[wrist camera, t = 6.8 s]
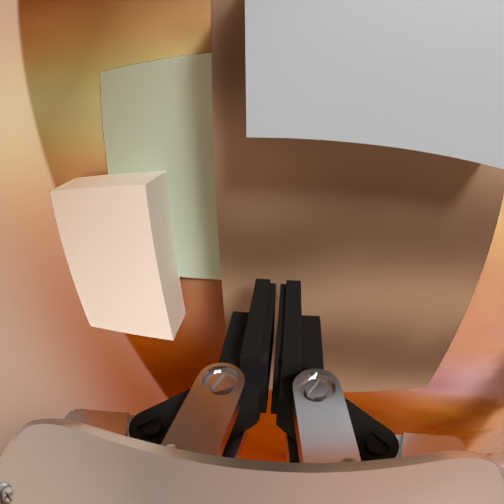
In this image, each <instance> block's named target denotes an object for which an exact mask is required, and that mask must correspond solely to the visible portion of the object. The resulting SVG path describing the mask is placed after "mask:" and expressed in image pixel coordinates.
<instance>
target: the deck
mask: <svg viewBox="0 0 504 504" xmlns="http://www.w3.org/2000/svg"><path fill="white" fill-rule="evenodd" d="M211 53H212V106H213V137H214V162H215V184H216V203H217V221H218V237H219V252H220V267H221V280H222V294H223V306H224V318H225V330H226V334H227V331H228V327H229V323H230V320H231V316H232V313H233V311H237V312H249V310H250V305H251V300H252V296H253V291H254V286H255V281H256V279H270V280H271V283H276V298H275V322H274V341H273V352H272V362H271V372H270V381H269V390H272V388H273V372H274V357H275V346H276V334H277V323H278V310H279V298H280V284H286V280H297V281H301V307H302V315H309V316H320V323H321V335H322V349H323V363H324V370H327V371H329V372H331V373H332V374H334V375H335V376H336V377H337V378H338V380H339V382H340V384H341V388H342V391H343V392H366V391H386V390H401V389H412V388H422V387H427V385H428V384H429V382H430V380H431V379H432V377H433V375H434V374H435V372H436V370H437V368H438V367H439V365H440V363H441V361H442V359H443V357H444V356H445V354H446V352H447V350H448V348H449V346H450V344H451V342H452V340H453V338H454V336H455V334H456V332H457V330H458V328H459V326H460V324H461V321H462V319H463V317H464V315H465V313H466V310H467V308H468V306H469V303H470V301H471V298H472V296H473V293H474V291H475V288H476V286H477V283H478V281H479V278H480V275H481V272H482V270H483V267H484V264H485V261H486V258H487V255H488V252H489V248H490V245H491V242H492V238H493V235H494V231H495V228H496V224H497V220H498V216H499V212H500V208H501V204H502V199H503V194H504V169H500V168H497V167H493V166H489V165H485V164H481V163H476V162H472V161H468V160H463V159H458V158H453V157H449V156H443V155H438V154H433V153H427V152H421V151H415V150H409V149H402V148H395V147H388V146H380V145H371V144H362V143H353V142H342V141H329V140H315V139H295V138H255V137H246V60H245V0H211Z"/></svg>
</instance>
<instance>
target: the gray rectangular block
mask: <svg viewBox="0 0 504 504" xmlns="http://www.w3.org/2000/svg"><path fill="white" fill-rule="evenodd" d="M245 60H246V137H255V138H295V139H315V140H329V141H342V142H353V143H362V144H371V145H380V146H388V147H395V148H402V149H409V150H415V151H421V152H427V153H433V154H438V155H443V156H449V157H453V158H458V159H463V160H468V161H472V162H476V163H481V164H485V165H489V166H493V167H497V168H500V169H504V0H245Z"/></svg>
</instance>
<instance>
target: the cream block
mask: <svg viewBox="0 0 504 504" xmlns="http://www.w3.org/2000/svg"><path fill="white" fill-rule="evenodd" d="M50 196H51V201H52V205H53V210H54V214H55V218H56V222H57V227H58V230H59V234H60V238H61V242H62V245H63V249H64V252H65V256H66V259H67V262H68V265H69V269H70V272H71V275H72V278H73V281H74V284H75V287H76V289H77V292H78V295H79V298H80V301H81V303H82V306H83V309H84V311H85V314H86V316H87V319H88V321H89V324H90V326H93V327H98V328H103V329H108V330H113V331H118V332H123V333H129V334H135V335H140V336H147V337H153V338H159V339H166V340H173V341H174V339H175V336H176V334H177V332H178V330H179V327H180V325H181V323H182V321H183V319H184V316H185V314H186V312H185V307H184V301H183V295H182V289H181V283H180V276H179V270H178V263H177V256H176V249H175V242H174V234H173V226H172V218H171V210H170V201H169V191H168V181H167V171H155V172H137V173H122V174H109V175H97V176H87V177H77V178H74V179H72V180H70V181H68V182H66V183H64V184H62V185H60V186H59V187H57V188H55V189H53V190H51V191H50Z"/></svg>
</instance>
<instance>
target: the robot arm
mask: <svg viewBox="0 0 504 504" xmlns="http://www.w3.org/2000/svg"><path fill="white" fill-rule="evenodd" d="M275 298H276V283H271V280H270V279H256V281H255V286H254V291H253V296H252V300H251V305H250V310H249V312H237V311H233V313H232V316H231V320H230V323H229V327H228V331H227V334H226V338H225V342H224V345H223V349H222V353H221V356H220V360H219V363H214V364H211V365H208V366H206V367H205V368H204V369H202V370H201V372H200V373H199V374H198V376H197V378H196V380H195V382H194V383H193V385H192V387H191V388H190V389H188V390H186V391H184V392H182V393H180V394H178V395H176V396H174V397H172V398H170V399H168V400H166V401H164V402H162V403H160V404H157V405H155V406H153V407H151V408H149V409H147V410H145V411H142V412H141V413H139V414H137V415H136V416H131V415H129V413H123V412H108V411H97V410H87V409H76V410H74V411H71V412H70V413H69V414H68V415H67V416H66V417H65V419H39V420H34V421H31V422H28V423H27V424H25V425H24V426H23V427H22V428H21V429H20V430H19V431H18V432H17V433H16V434H15V436H14V437H13V438H12V440H11V441H10V443H9V444H8V446H7V447H6V449H5V451H4V453H3V454H2V456H1V458H0V504H504V469H503V467H502V466H501V464H500V463H499V462H498V461H497V460H496V459H495V458H493V457H491V456H488V455H486V454H482V453H478V452H473V451H466V449H465V445H464V443H463V442H462V440H460V439H459V438H457V437H455V436H446V435H425V434H411V433H403V434H402V435H395V434H394V433H393V432H392V431H391V430H389V429H388V428H387V427H385V426H384V425H382V424H381V423H379V422H378V421H376V420H375V419H374V418H372V417H371V416H369V415H368V414H367V413H365V412H364V411H362V410H361V409H360V408H358V407H357V406H355V405H354V404H353V403H351V402H350V401H349V400H347V399H346V398H345V397H344V395H343V391H342V388H341V384H340V382H339V380H338V378H337V377H336V376H335V375H334V374H332V373H331V372H329V371H327V370H324V363H323V349H322V335H321V323H320V316H309V315H302V307H301V281H297V280H286V284H280V298H279V310H278V323H277V334H276V346H275V357H274V372H273V388H272V404H271V414H277V419H276V425H277V426H278V427H279V428H281V429H282V430H283V431H284V432H285V441H286V450H287V460H288V462H269V461H256V460H246V459H238V457H239V454H240V451H241V449H242V446H243V443H244V440H245V438H246V435H247V429H249V428H250V427H252V426H253V425H255V424H257V421H259V417H260V413H266V408H267V400H268V390H269V381H270V372H271V362H272V352H273V341H274V322H275Z"/></svg>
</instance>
